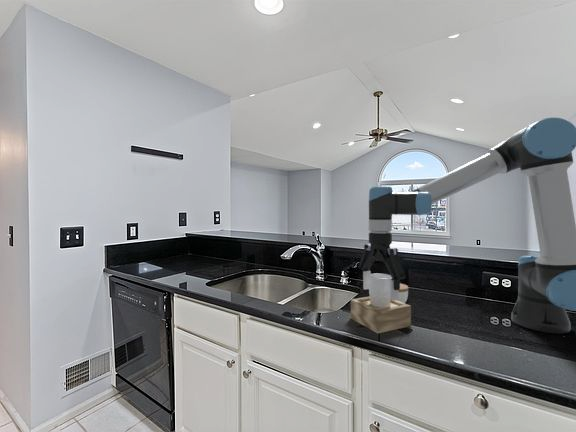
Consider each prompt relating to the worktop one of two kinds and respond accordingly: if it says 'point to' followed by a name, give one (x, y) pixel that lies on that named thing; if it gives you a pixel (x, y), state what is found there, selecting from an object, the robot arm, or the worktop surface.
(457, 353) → the worktop surface
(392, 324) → the wooden box
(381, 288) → the white cup
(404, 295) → the lidded jar
